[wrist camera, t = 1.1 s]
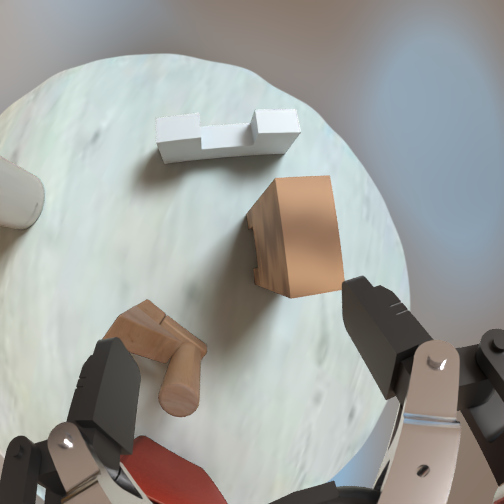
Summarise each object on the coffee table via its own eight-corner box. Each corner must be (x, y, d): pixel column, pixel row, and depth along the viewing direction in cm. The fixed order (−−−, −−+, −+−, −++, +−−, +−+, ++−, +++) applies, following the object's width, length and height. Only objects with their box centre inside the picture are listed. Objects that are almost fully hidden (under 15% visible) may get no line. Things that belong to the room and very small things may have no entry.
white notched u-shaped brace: (164, 163, 41) (156, 142, 33) (163, 142, 41) (155, 118, 33) (285, 153, 43) (300, 132, 35) (281, 133, 43) (296, 109, 36)
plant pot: (234, 466, 40) (248, 536, 23) (175, 516, 38) (172, 577, 21) (135, 409, 38) (107, 473, 22) (88, 468, 36) (59, 524, 19)
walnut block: (289, 279, 43) (345, 289, 25) (255, 284, 42) (290, 298, 24) (280, 210, 43) (329, 175, 25) (246, 213, 42) (275, 178, 24)
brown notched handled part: (147, 297, 40) (106, 321, 22) (207, 344, 40) (210, 398, 23) (132, 317, 39) (85, 352, 21) (192, 363, 40) (185, 426, 22)
